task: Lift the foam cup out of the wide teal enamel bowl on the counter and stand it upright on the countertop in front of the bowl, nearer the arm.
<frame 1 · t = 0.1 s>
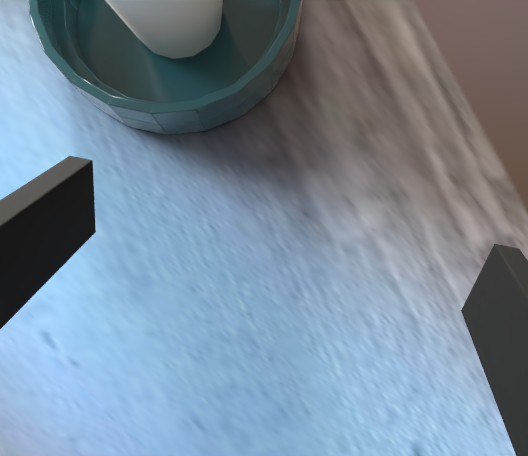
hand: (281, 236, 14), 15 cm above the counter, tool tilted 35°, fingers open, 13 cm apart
foam cup: (178, 18, 31), resting in bowl
bowl: (179, 20, 32), on the counter
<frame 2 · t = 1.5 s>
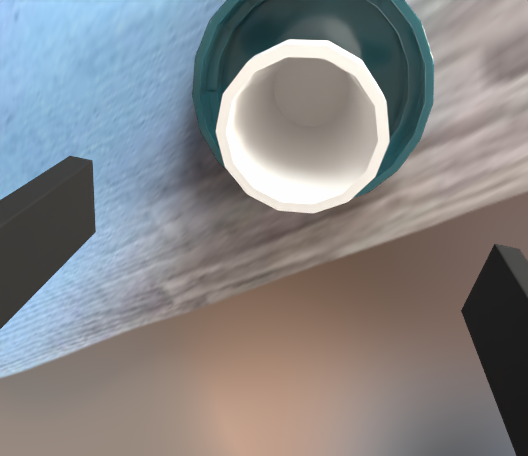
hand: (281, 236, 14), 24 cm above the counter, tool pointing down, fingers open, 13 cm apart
foam cup: (311, 87, 35), resting in bowl
bowl: (311, 86, 36), on the counter
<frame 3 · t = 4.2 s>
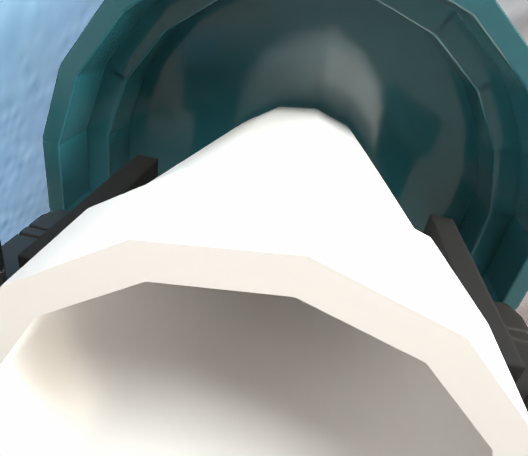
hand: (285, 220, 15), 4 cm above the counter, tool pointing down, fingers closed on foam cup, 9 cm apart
foam cup: (294, 179, 19), resting in bowl, touching gripper
bowl: (294, 176, 19), on the counter
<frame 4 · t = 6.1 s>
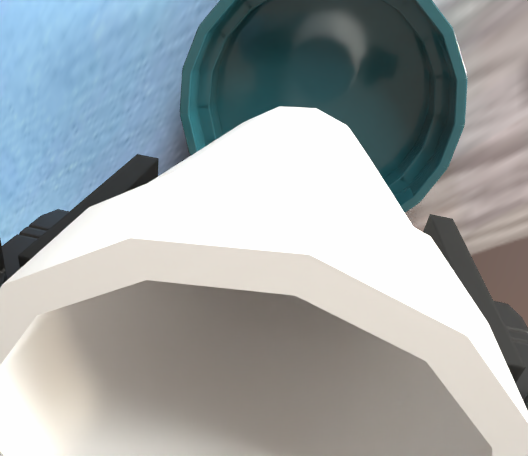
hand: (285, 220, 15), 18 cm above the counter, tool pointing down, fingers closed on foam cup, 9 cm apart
foam cup: (294, 179, 19), point 14 cm above the counter, touching gripper
bowl: (319, 102, 31), on the counter
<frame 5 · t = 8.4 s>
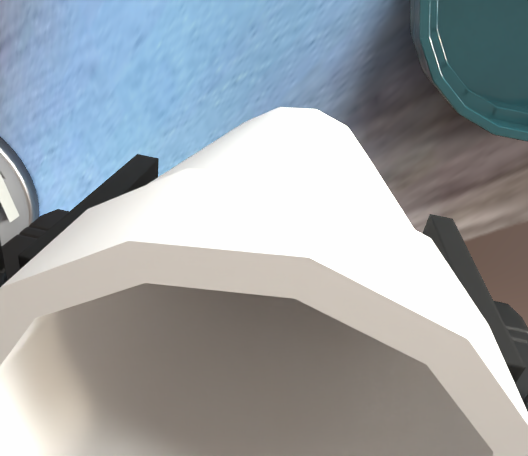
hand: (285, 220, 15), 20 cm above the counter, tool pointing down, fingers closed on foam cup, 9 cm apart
foam cup: (294, 179, 19), point 17 cm above the counter, touching gripper
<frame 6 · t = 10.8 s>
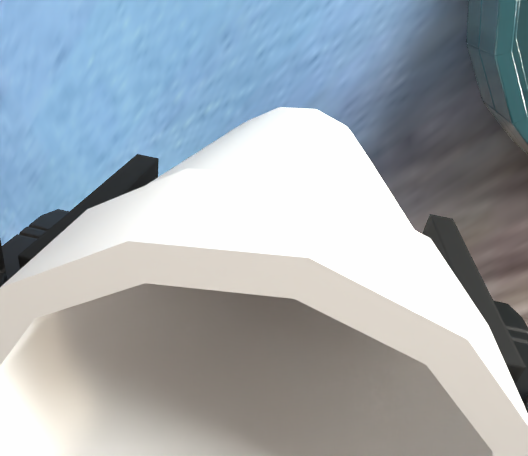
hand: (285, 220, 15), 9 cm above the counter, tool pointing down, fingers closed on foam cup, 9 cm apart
foam cup: (293, 179, 19), point 5 cm above the counter, touching gripper
when the fingers open (3 cm above the counter, at t = 12.6 s): foam cup stays where it is, on the counter.
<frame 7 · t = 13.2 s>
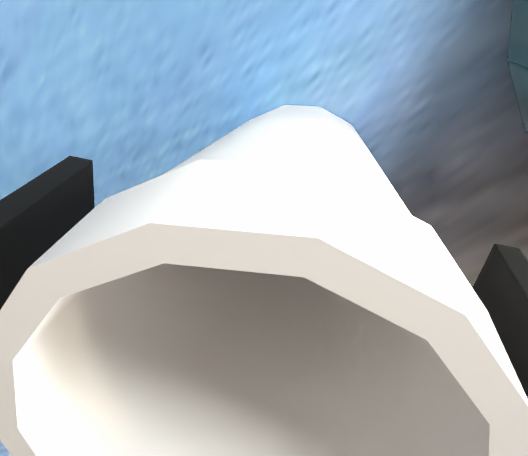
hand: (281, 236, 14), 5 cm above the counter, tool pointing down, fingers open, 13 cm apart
foam cup: (298, 176, 19), on the counter
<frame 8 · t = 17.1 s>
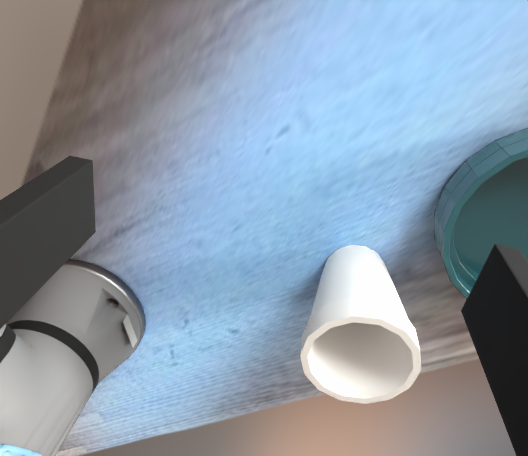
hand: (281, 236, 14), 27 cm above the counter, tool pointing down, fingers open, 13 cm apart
foam cup: (354, 269, 46), on the counter
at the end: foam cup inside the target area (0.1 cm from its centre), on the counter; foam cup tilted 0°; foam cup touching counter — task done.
